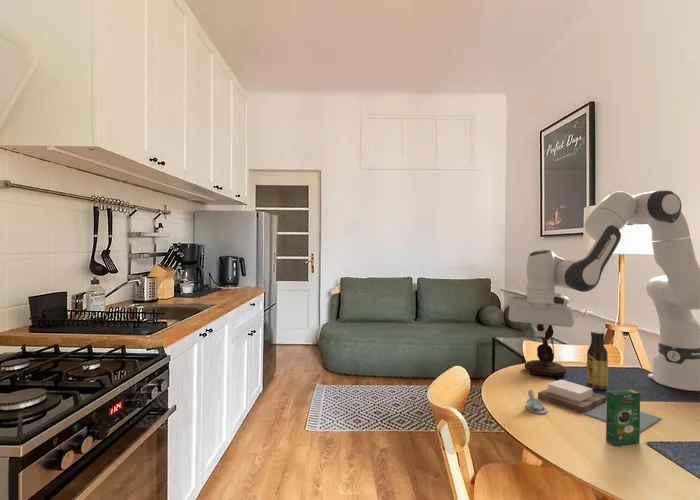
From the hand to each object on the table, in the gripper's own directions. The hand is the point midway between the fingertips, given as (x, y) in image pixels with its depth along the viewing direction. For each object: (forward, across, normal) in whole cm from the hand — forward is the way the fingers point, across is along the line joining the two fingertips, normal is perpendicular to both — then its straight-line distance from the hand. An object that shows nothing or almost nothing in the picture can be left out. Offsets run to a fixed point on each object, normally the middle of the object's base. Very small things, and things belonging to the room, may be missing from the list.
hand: (539, 336), depth 133 cm
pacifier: (+19, +1, -18) cm, 26 cm away
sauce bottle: (+19, +17, +14) cm, 29 cm away
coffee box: (+19, +22, -28) cm, 40 cm away
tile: (+17, +9, -4) cm, 20 cm away
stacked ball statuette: (+19, 0, +22) cm, 29 cm away
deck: (+19, +10, -4) cm, 22 cm away
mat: (+19, +23, -10) cm, 31 cm away
